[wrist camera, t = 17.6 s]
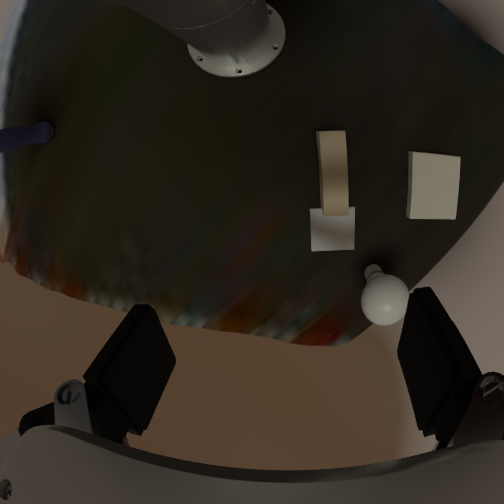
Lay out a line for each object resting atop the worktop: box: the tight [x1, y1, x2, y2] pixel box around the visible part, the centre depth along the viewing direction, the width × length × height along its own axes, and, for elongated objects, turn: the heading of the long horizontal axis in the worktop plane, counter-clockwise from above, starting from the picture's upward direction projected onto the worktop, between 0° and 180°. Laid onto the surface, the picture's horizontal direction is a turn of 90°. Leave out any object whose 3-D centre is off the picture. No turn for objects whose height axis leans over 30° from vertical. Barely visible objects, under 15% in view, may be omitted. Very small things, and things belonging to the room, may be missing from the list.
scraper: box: [310, 131, 355, 251], centre depth 33 cm, size 16×6×4 cm, turn 7°
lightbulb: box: [361, 264, 409, 326], centre depth 33 cm, size 6×6×11 cm
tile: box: [406, 151, 460, 219], centre depth 31 cm, size 2×8×9 cm
